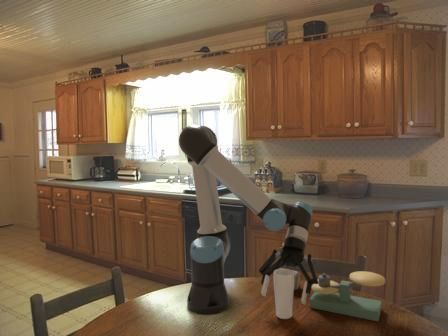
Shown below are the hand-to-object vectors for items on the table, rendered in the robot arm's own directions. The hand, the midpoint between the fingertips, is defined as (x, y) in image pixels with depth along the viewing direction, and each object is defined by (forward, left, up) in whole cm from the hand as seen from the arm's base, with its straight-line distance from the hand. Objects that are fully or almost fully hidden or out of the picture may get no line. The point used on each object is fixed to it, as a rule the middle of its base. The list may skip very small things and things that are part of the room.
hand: (282, 298), depth 115 cm
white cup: (0, +2, -7) cm, 7 cm away
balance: (+17, +16, -7) cm, 24 cm away
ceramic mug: (-6, +25, -7) cm, 27 cm away
